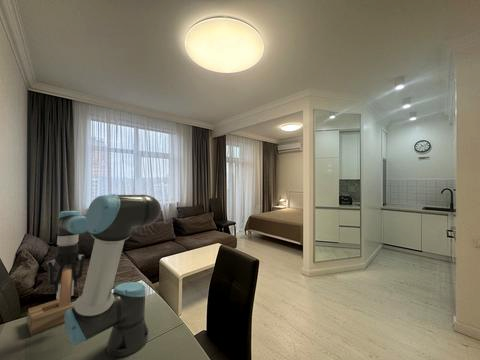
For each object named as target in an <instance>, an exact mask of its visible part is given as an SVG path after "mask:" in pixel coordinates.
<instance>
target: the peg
mask: <svg viewBox="0 0 480 360" xmlns="http://www.w3.org/2000/svg"><path fill="white" fill-rule="evenodd" d="M72 279H73V278H72V269H71V268H70V267H69V268H63V270H62V274H61V277H60V281H59V283H60V284H61V290H60V299H59V306H65V305H67V304H69V303H70V302H71V298H72V296H71V280H72Z"/></svg>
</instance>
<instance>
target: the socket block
mask: <svg viewBox="0 0 480 360" xmlns="http://www.w3.org/2000/svg"><path fill="white" fill-rule="evenodd" d="M73 307H74V304H73V303H72V302H71V301H70V303H69V304H67V305H65V306H59V300H57V299H55V300H52V301H48V302H45V303H42V304H39V305H36V306H33V307H30V308H28V309H27V320H26V321H27V322H26V326H27V325H28V326H27V328H28V331H29V335H30V337H31V338H32V337H34V336H36V335H39V334H41V333H45V332H46V331H49V330H52V329H54V328H57V327H59V326H62V325H65V320H64V316H65V312H66V311H67V310H68V309H70V308H73Z"/></svg>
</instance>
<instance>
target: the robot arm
mask: <svg viewBox="0 0 480 360" xmlns="http://www.w3.org/2000/svg"><path fill="white" fill-rule="evenodd" d="M161 213H162V206H161V204H160V202H159V200H158V199H156V198H155V197H153V196H150V195H147V194H116V193H115V194H114V193H113V194H105V195H99V196H97V197H95V198H94V199H93V200H91V202H90V204H89V206H88V209H87V211H86V215H85V214H84V215H83V214H82V215H81V214H80V210H63V211H62V210H61V211H60V212H59V213H58V218H57V220H58V221H57V239H56V245H57V246H56V254H55V255H56V256H55V257H54V259H51V260H48V261H47V262H46V264H47V267H48V285H50V286H51V285H52V286H53V292H54V293H56V296H55V297H56V299H55V300H59V299H60V290H61V284H60V277H61V274H62V270H63V269H65V266H68V265H69V268H71V269H72V280H71V297H72V296H74V290H75V287H77V281H78V280H79V279H80V278H82V277H83V269H84V260H85V258H86V255H85V254H79V243H78V242H79V237H80V234H84V233H87V232H88V233H90V236H91V237H92V238H93V239H94V242H93V246H92V250H91V256H90V259H89V265H88V267H87V272H86V276H85V280H84V285H83V289H82V294H80V295H79V296H78V297H77V299H76V300H75V302H74V304H73V308H70V309H68V310H67V311H66V312H65V316H64V320H65V324H64V326H65V327H64V329H65V334H66V335H67V339H68V341H69V343H70V344H71V345H74V346H76V345H79V344H81V343H83V342H87V341H88V340H90V339H92V338H93V337H95V336H97V335H99V334H101V333H103V332H105V331H107V330H109V329H111V331H110V334H109V337H108V340H107V343H106V353H107V355H108V356H110V357H111V358H112V357H113V358H123V357H127V356H129V355H132V354H134V353H136V352H138V351H139V350H141V348H143V347H144V346H145V345H146V344H147V342H148V341H149V333H150V332H149V327H148V325H147V322H146V319H145V317H146V316H145V315H146V314H145V313H146V295H147V293H146V285H144V284H143V283H141V282H137V281H136V282H135V281H131V282H130V281H129V282H123V283H120V284H116V286H114V283H115V279H116V275H117V271H118V267H119V263H120V260H121V256H122V253H123V248H124V245H125V241H126V240H128V239H129V238H130V237H131V235H132V231H133V229H135V228H140V227H141V228H142V227H146V226H150V225H151V224H154V223H156V222H157V220H158V219H159V218H160V217H161ZM77 259H78V267H77V270H76V265H75V262H76V260H77ZM55 263H57V264H58V267H57V270H56V271H57V272H56V275H55V278H54V265H55ZM78 278H79V279H78ZM113 287H114V288H113ZM112 291H113V292H112Z"/></svg>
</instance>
